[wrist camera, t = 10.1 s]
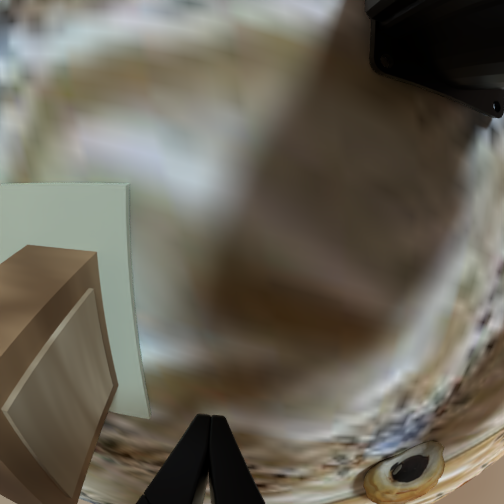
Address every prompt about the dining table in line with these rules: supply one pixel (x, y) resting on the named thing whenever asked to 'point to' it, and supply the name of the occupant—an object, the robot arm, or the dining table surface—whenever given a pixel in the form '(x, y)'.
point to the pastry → (405, 474)
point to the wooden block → (51, 373)
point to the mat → (89, 239)
